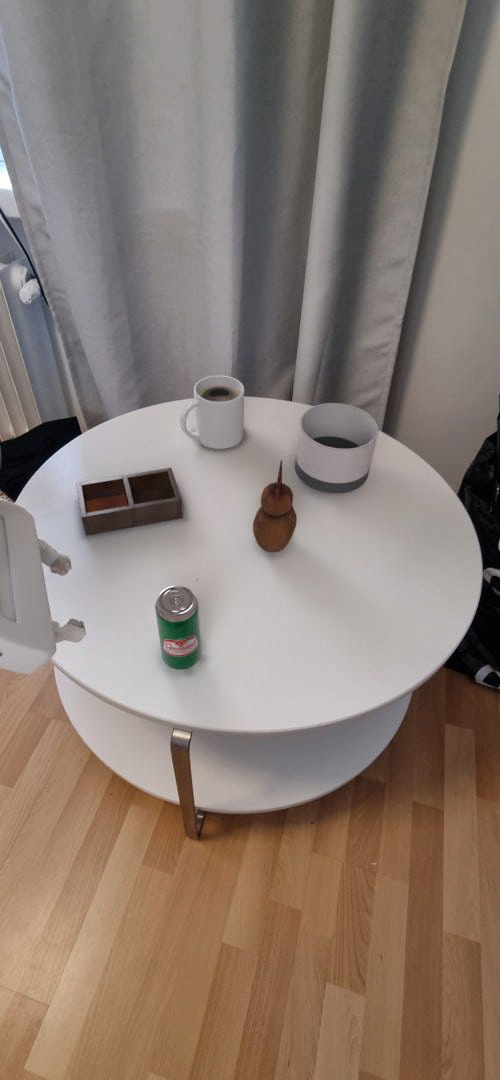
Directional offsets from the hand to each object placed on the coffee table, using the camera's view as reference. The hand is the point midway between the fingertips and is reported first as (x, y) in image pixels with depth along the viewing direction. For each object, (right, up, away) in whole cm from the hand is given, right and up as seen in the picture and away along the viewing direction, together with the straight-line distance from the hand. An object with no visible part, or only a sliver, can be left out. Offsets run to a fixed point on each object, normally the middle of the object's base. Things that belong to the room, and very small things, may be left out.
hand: (74, 598), depth 64 cm
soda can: (+10, -9, +13) cm, 19 cm away
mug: (+12, +26, +46) cm, 54 cm away
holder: (0, +11, +32) cm, 34 cm away
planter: (+33, +18, +39) cm, 55 cm away
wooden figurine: (+23, +6, +28) cm, 36 cm away
